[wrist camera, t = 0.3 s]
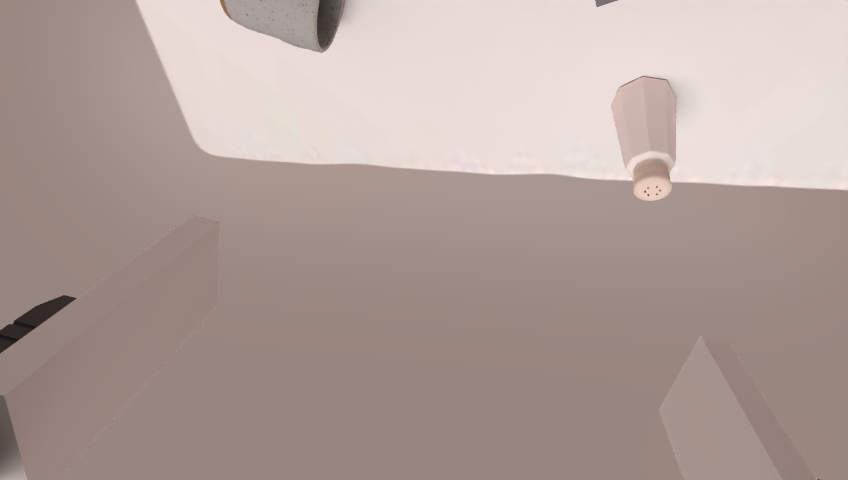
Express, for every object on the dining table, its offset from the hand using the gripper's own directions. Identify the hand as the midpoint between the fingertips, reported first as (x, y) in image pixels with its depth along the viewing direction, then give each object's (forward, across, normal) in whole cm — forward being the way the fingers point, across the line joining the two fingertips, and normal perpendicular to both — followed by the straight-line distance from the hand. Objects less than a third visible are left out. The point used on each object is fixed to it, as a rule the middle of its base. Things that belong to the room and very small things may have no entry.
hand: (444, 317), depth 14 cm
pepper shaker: (+38, +14, +2) cm, 40 cm away
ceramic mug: (+35, -17, +6) cm, 39 cm away
